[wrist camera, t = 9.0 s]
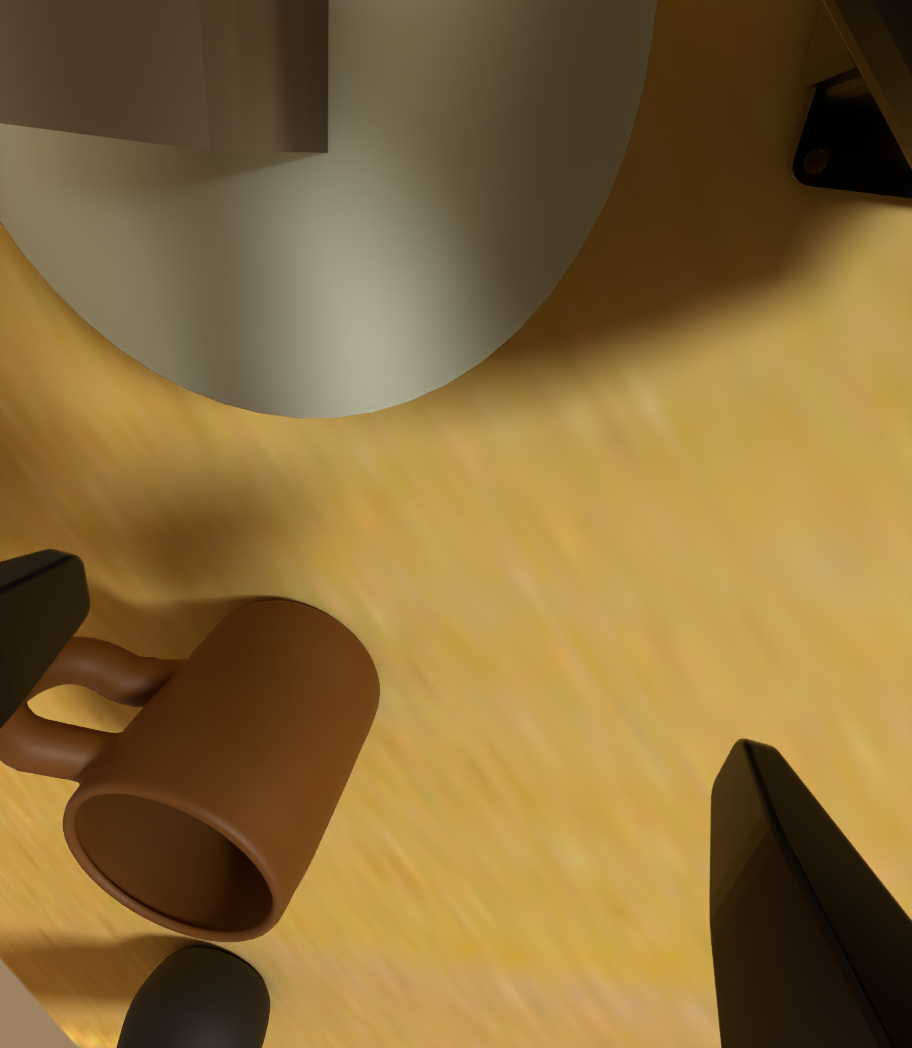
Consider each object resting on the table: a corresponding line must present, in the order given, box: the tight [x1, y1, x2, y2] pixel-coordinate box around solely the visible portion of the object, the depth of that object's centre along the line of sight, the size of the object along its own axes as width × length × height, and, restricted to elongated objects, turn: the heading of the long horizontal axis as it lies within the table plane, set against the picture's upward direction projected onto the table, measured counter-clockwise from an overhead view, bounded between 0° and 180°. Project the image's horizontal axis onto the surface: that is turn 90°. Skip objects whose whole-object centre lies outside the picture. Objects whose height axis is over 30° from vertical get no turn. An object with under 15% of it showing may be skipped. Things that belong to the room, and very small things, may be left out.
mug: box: [0, 600, 380, 942], centre depth 24 cm, size 12×8×9 cm, turn 55°
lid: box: [0, 0, 657, 418], centre depth 10 cm, size 14×14×5 cm
